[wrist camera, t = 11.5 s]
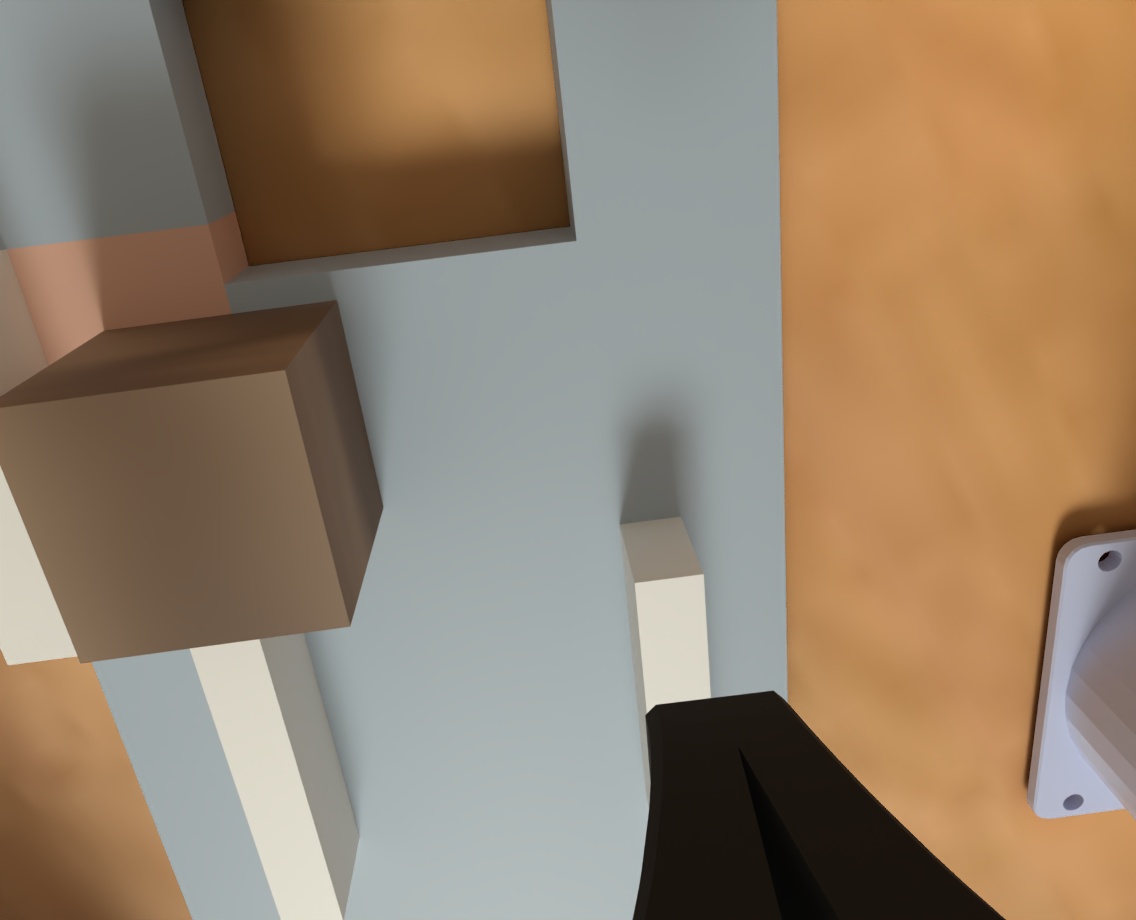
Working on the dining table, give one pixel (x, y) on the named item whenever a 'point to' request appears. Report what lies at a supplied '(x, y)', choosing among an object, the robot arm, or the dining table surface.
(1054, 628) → the robot arm
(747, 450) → the deck
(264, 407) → the block
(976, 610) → the dining table surface
